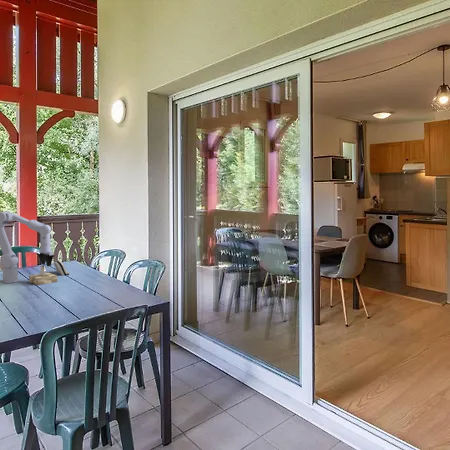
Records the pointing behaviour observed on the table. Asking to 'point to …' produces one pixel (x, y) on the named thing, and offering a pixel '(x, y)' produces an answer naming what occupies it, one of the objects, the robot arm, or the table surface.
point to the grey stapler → (61, 268)
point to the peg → (43, 271)
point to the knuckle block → (43, 279)
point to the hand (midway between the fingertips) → (46, 265)
